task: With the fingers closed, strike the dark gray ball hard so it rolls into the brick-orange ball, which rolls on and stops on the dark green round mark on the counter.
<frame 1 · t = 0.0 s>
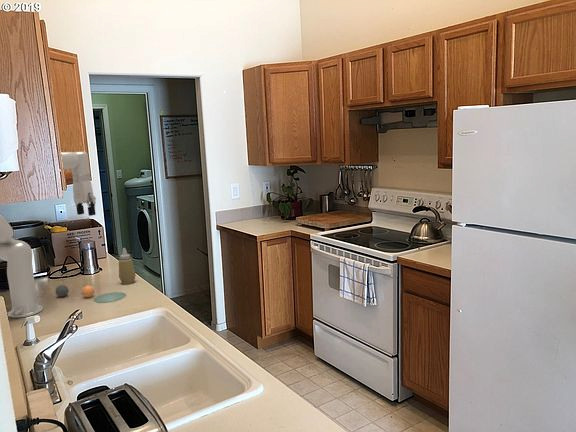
hand: (86, 214, 222), 37 cm above the countertop, tool pointing down, fingers open, 9 cm apart
dark gray ball: (62, 290, 221), on the countertop
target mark: (109, 297, 216), on the countertop
object ball: (88, 291, 218), on the countertop
squeeze bottle: (128, 283, 238), on the countertop
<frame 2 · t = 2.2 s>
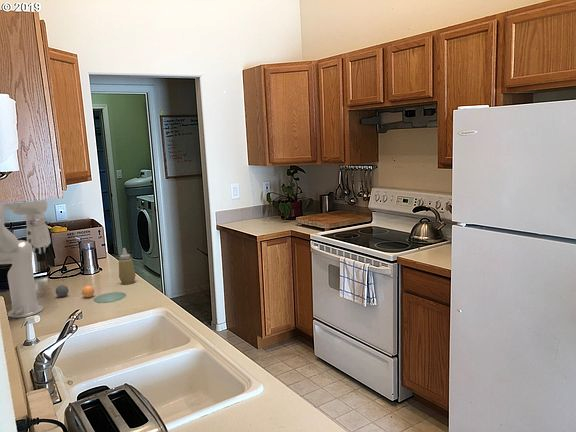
hand: (41, 261, 221), 17 cm above the countertop, tool pointing down, fingers closed
nothing on the countertop moved.
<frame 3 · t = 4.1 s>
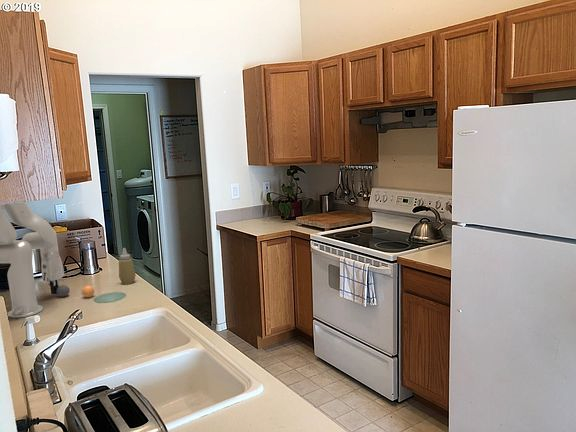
hand: (55, 293, 222), 1 cm above the countertop, tool pointing down, fingers closed
dark gray ball: (63, 290, 221), on the countertop, touching gripper
everything else where it was.
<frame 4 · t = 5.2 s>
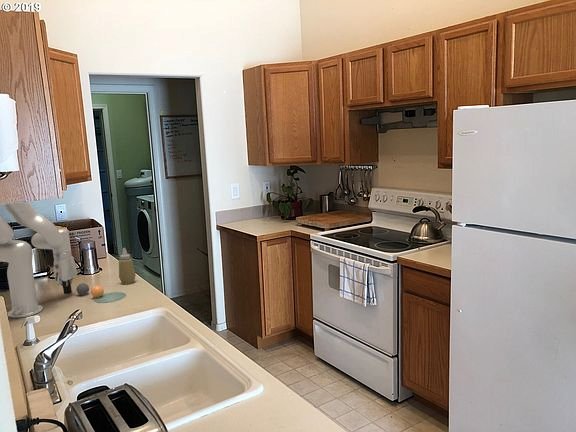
hand: (67, 293, 221), 2 cm above the countertop, tool pointing down, fingers closed
dark gray ball: (82, 289, 222), on the countertop
object ball: (97, 291, 217), on the countertop
everything else where it was.
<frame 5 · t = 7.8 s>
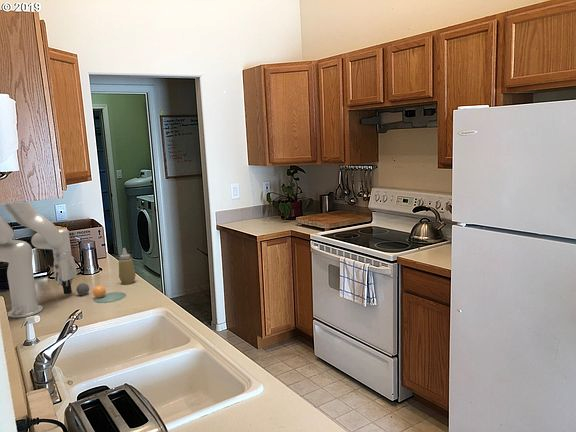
hand: (67, 293, 221), 2 cm above the countertop, tool pointing down, fingers closed
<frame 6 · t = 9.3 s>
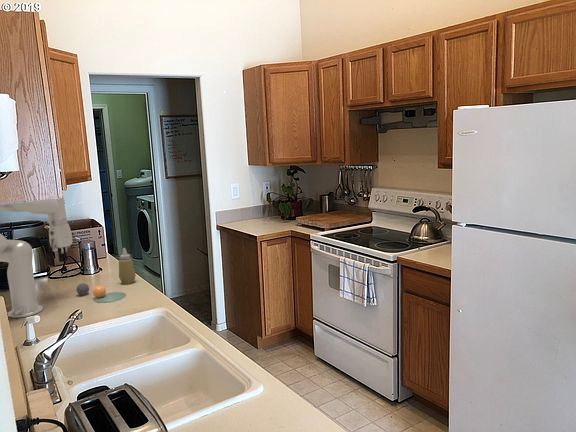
hand: (63, 261, 218), 17 cm above the countertop, tool pointing down, fingers closed
nothing on the countertop moved.
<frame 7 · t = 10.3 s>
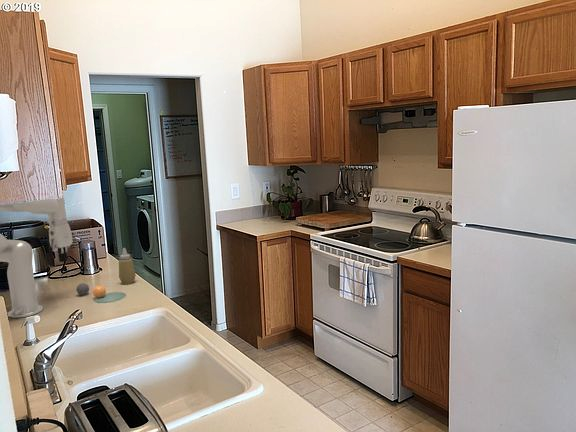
hand: (63, 261, 218), 17 cm above the countertop, tool pointing down, fingers closed
nothing on the countertop moved.
at the end: object ball 5.1 cm from the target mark (horizontally); object ball never touched the robot; dark gray ball first touched object ball at 4.5 s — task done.
